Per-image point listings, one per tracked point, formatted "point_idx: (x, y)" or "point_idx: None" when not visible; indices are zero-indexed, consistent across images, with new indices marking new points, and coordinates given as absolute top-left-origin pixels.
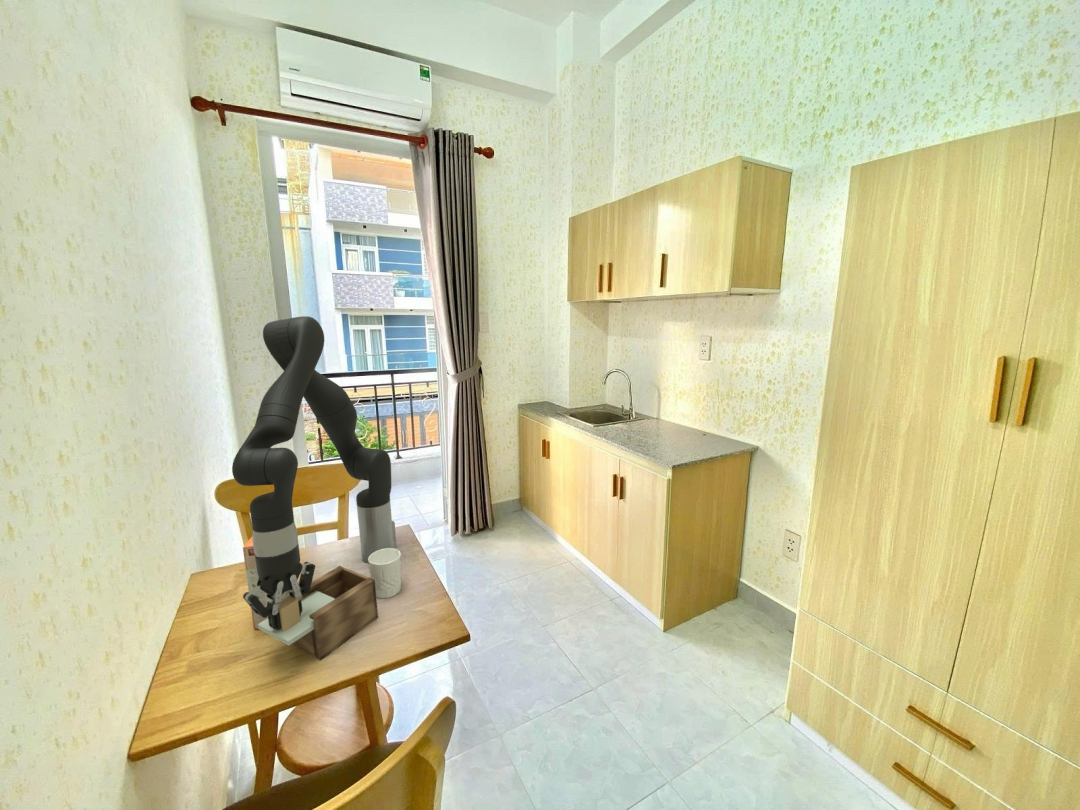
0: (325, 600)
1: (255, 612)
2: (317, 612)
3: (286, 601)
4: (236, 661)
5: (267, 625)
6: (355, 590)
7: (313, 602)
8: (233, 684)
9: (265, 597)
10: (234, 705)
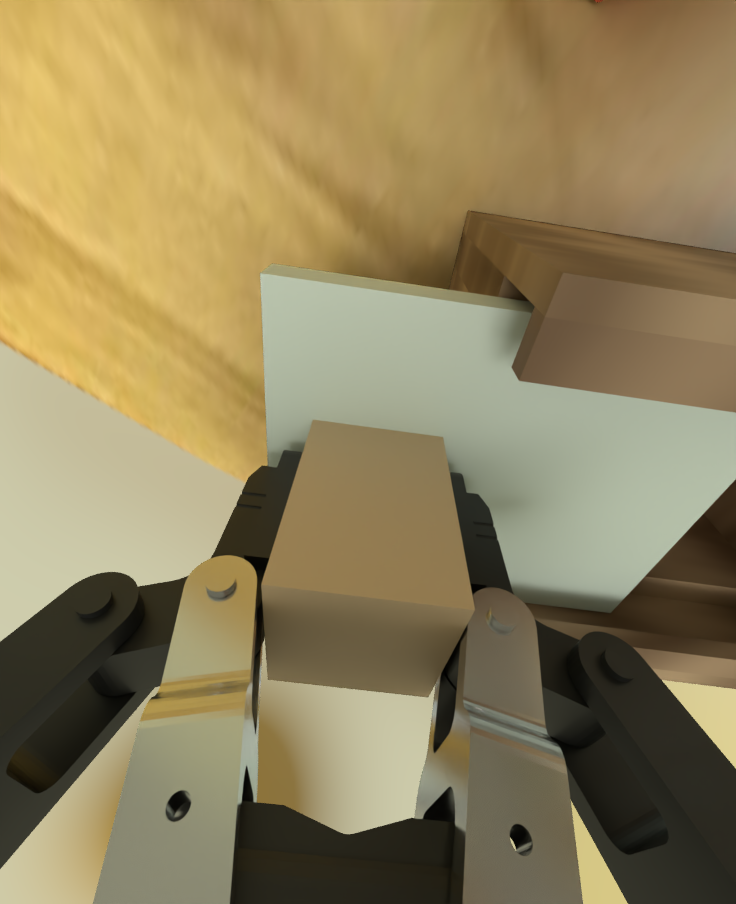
0: (647, 520)
1: (48, 615)
2: None
3: (370, 656)
4: (231, 58)
5: (294, 371)
6: (694, 678)
7: (624, 467)
8: (157, 246)
9: (139, 743)
10: (128, 359)
